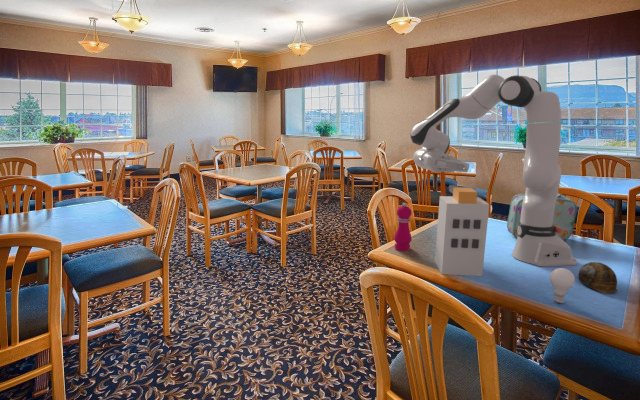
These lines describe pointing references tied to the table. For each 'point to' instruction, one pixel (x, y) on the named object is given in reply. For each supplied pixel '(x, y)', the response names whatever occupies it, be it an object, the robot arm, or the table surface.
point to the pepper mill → (403, 229)
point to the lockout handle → (463, 194)
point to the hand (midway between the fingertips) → (456, 166)
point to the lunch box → (561, 219)
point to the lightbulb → (561, 283)
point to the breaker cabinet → (461, 236)
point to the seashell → (598, 277)
